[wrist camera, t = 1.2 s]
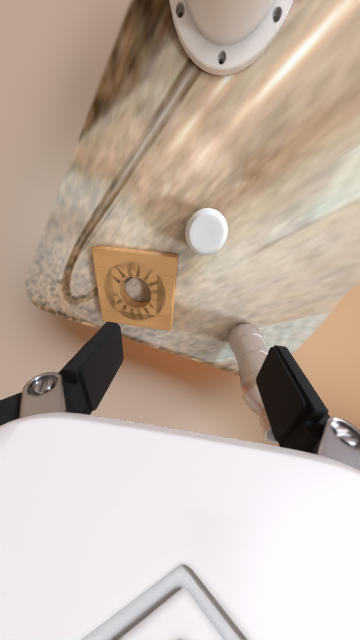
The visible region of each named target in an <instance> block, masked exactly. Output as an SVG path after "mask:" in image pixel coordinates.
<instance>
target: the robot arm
mask: <svg viewBox="0 0 360 640" xmlns="http://www.w3.org/2000/svg"><path fill="white" fill-rule="evenodd" d="M169 1H170V7H171V12H172V18H173V22H174V25H175V29H176V32H177V35H178V38H179V40H180V42H181V44H182V46H183V48H184V50H185V52H186V53H187V55H188V56H189V57H190V59H191V60H192V61H193V62H194V63H195V64H196V65H197V66H198V67H199V68H201V69H202V70H204V71H206V72H208V73H210V74H213V75H220V76H224V75H230V74H234V73H237V72H239V71H241V70H243V69H245V68H246V67H248V66H249V65H251V64H252V63H253V62H255V61H256V60H257V59H258V58H259V57H260V56H261V55H262V53H263V52H264V51H265V50H266V49H267V48H268V46H269V45H270V44H271V42H272V41H273V39H274V38H275V37H276V35H277V33H278V31H279V30H280V28H281V26H282V24H283V22H284V20H285V18H286V16H287V14H288V11H289V9H290V7H291V4H292V2H293V0H169ZM180 16H182V17H181V18H179V17H180ZM273 20H275V21H276V22H273ZM220 61H222V62H223V64H219V62H220ZM123 358H124V357H123V348H122V338H121V328H120V326H119V325H118V324H117V323H115V322H106V323H105V324H104V325H103V326H102V328H101V329H100V330H99V331H98V332H97V333H96V334H95V335H94V336H93V337H92V338H91V339H90V340H89V341H88V342H87V343H86V344H85V345H84V346H83V347H82V348H81V349H80V350H79V351H78V353H77V354H76V355H75V356H74V357H73V358H72V359H71V360H70V361H69V362H68V363H67V364H66V365H65V367H64V368H63V369H62V370H61V371H60V372H59V373H55V372H47V373H43V374H40V375H38V376H36V377H34V378H33V379H31V380H30V381H29V382H27V384H26V385H25V386H24V388H23V391H22V392H21V393H18V394H16V395H13V396H11V397H8V398H5V399H3V400H0V640H360V430H358V429H357V428H356V427H355V426H354V425H352V424H351V423H349V422H348V421H346V420H344V419H341V418H338V417H330V416H329V415H328V410H327V408H326V407H325V405H324V403H323V402H322V400H321V399H320V397H319V396H318V394H317V393H316V391H315V390H314V388H313V387H312V385H311V384H310V382H309V381H308V379H307V378H306V376H305V375H304V373H303V372H302V370H301V369H300V367H299V366H298V364H297V362H296V361H295V359H294V358H293V356H292V355H291V353H290V352H289V350H288V349H287V348H286V347H284V346H276V345H275V346H274V347H271V348H270V350H269V352H268V354H267V356H266V358H265V360H264V362H263V364H262V367H261V369H260V371H259V373H258V375H257V377H256V384H257V387H258V390H259V393H260V396H261V399H262V402H263V405H264V408H265V411H266V414H267V417H268V420H269V423H270V426H271V429H272V432H273V436H274V438H275V440H276V441H278V443H279V445H280V447H278V446H272V445H267V444H262V443H256V442H249V441H244V440H239V439H233V438H227V437H222V436H216V435H210V434H204V433H198V432H192V431H187V430H181V429H175V428H169V427H163V426H157V425H151V424H145V423H139V422H133V421H126V420H120V419H114V418H108V417H101V416H94V415H90V414H91V412H92V411H93V410H96V409H97V407H98V405H99V403H100V402H101V400H102V398H103V396H104V394H105V392H106V391H107V389H108V387H109V385H110V384H111V382H112V380H113V378H114V377H115V375H116V373H117V371H118V369H119V367H120V366H121V364H122V362H123Z"/></svg>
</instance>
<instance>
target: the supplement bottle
mask: <svg viewBox="0 0 360 640" xmlns="http://www.w3.org/2000/svg"><path fill="white" fill-rule="evenodd" d="M227 233H228V227H227V223H226V220H225V218H224V217H223V215H222V214H221V213H220V212H218V211H217V210H214V209H210V208H205V209H201V210H199V211H197V212H196V213H194V214H193V215H192V216H191V218H190V219H189V221H188V223H187V225H186V230H185V237H186V241H187V244H188V246H189V247H190V249H191V250H192V251H194V252H195V253H197V254H199V255H211V254H214V253H215V252H217V251H218V250H219V249H220V248H221V247H222V246H223V245H224V243H225V241H226V238H227Z"/></svg>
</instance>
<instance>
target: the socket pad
mask: <svg viewBox="0 0 360 640" xmlns="http://www.w3.org/2000/svg"><path fill="white" fill-rule="evenodd" d="M92 255H93V261H94V266H95V267H94V268H95V275H96V281H97V288H98V294H99V301H100V307H101V313H102V320H103V321H106V322H115V323H120V324H127V325H134V326H141V327H148V328H155V329H162V330H171V327H172V323H173V312H174V301H175V289H176V277H177V265H178V255H177V254H169V253H160V252H152V251H143V250H135V249H126V248H118V247H109V246H96V247H92ZM127 277H138V278H140V279H142V280H144V281H145V282H146V283H147V285H148V286H149V288H150V291H151V299H150V300H149V301H147V302H137V301H135V300H133V299H132V298H131V297H130V296H129V295H128V294H127V292H126V290H125V281H126V278H127Z"/></svg>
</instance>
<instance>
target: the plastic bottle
mask: <svg viewBox="0 0 360 640" xmlns="http://www.w3.org/2000/svg"><path fill="white" fill-rule="evenodd" d="M229 345H230V347H231V350H232V351H233V353H234V355H235V357H236V360H237V362H238V367H239V372H240V382H241V392H242V397H243V399H244V401H245V403H246V404H247V406H248V407H249V408H250V409H251V410H252V411H253V412H255V413H256V414H257V415H259V422H260V425H261V427H262V430H263V433H264V436H265V438H266V439H267V440H268V441H270V442H273V443H278V441H276V440H275V438H274V436H273V432H272V429H271V426H270V423H269V420H268V417H267V414H266V411H265V408H264V405H263V402H262V399H261V396H260V393H259V390H258V387H257V384H256V377H257V375H258V373H259V371H260V369H261V367H262V364H263V362H264V360H265V358H266V356H267V354H268V350H267V347H266V345H265V340H264V337H263V334H262V332H261V331H260V330H259V329H258V328H257V327H256V326H255V325H253V324H248V323H245V324H240V325H238V326H236V327H235V328H233V329H232V331H231V332H230V335H229Z"/></svg>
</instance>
